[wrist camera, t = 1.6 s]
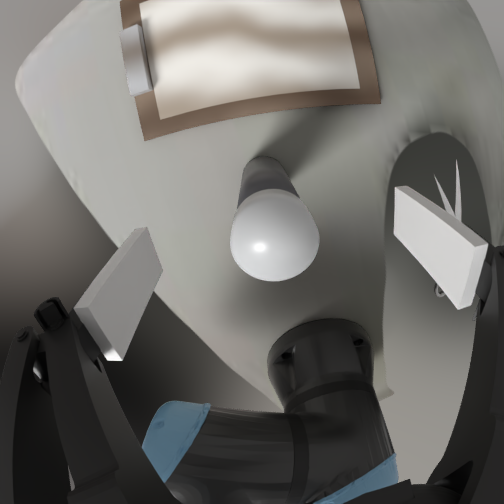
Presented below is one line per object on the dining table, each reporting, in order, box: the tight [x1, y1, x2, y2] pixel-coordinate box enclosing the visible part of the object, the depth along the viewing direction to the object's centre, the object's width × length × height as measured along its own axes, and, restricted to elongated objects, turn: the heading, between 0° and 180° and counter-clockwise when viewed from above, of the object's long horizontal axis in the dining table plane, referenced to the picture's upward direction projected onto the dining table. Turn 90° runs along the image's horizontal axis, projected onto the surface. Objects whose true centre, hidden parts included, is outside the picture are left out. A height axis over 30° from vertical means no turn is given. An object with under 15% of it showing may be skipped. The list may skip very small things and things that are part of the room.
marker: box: [230, 156, 319, 281], centre depth 19 cm, size 4×4×14 cm
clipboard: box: [120, 0, 381, 141], centre depth 18 cm, size 16×22×2 cm
